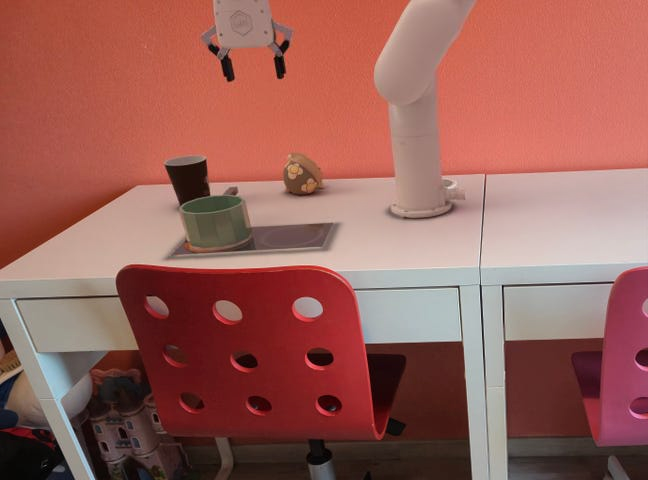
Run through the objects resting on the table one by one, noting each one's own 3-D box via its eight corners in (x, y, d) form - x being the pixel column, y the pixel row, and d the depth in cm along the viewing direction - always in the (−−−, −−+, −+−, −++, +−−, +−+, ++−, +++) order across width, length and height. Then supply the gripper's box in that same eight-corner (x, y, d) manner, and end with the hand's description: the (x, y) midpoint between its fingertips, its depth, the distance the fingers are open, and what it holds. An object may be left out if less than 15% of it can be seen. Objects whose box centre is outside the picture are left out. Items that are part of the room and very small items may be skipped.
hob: (335, 224, 141) (335, 221, 140) (324, 249, 128) (323, 247, 128) (193, 232, 140) (193, 229, 140) (168, 258, 128) (167, 255, 128)
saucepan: (267, 214, 147) (260, 180, 144) (243, 248, 129) (235, 211, 126) (212, 217, 147) (204, 184, 143) (181, 252, 129) (171, 215, 126)
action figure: (340, 165, 168) (329, 180, 154) (311, 198, 171) (298, 215, 158) (307, 134, 165) (293, 146, 151) (278, 168, 168) (261, 183, 155)
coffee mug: (203, 212, 152) (192, 165, 147) (167, 211, 154) (155, 165, 149) (230, 196, 162) (220, 152, 157) (196, 196, 164) (186, 152, 159)
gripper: (182, -18, 125) (205, 85, 134) (280, -23, 125) (296, 80, 134) (196, -19, 132) (217, 79, 140) (288, -24, 132) (304, 74, 140)
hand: (256, 79), depth 137 cm, fingers open, 9 cm apart
